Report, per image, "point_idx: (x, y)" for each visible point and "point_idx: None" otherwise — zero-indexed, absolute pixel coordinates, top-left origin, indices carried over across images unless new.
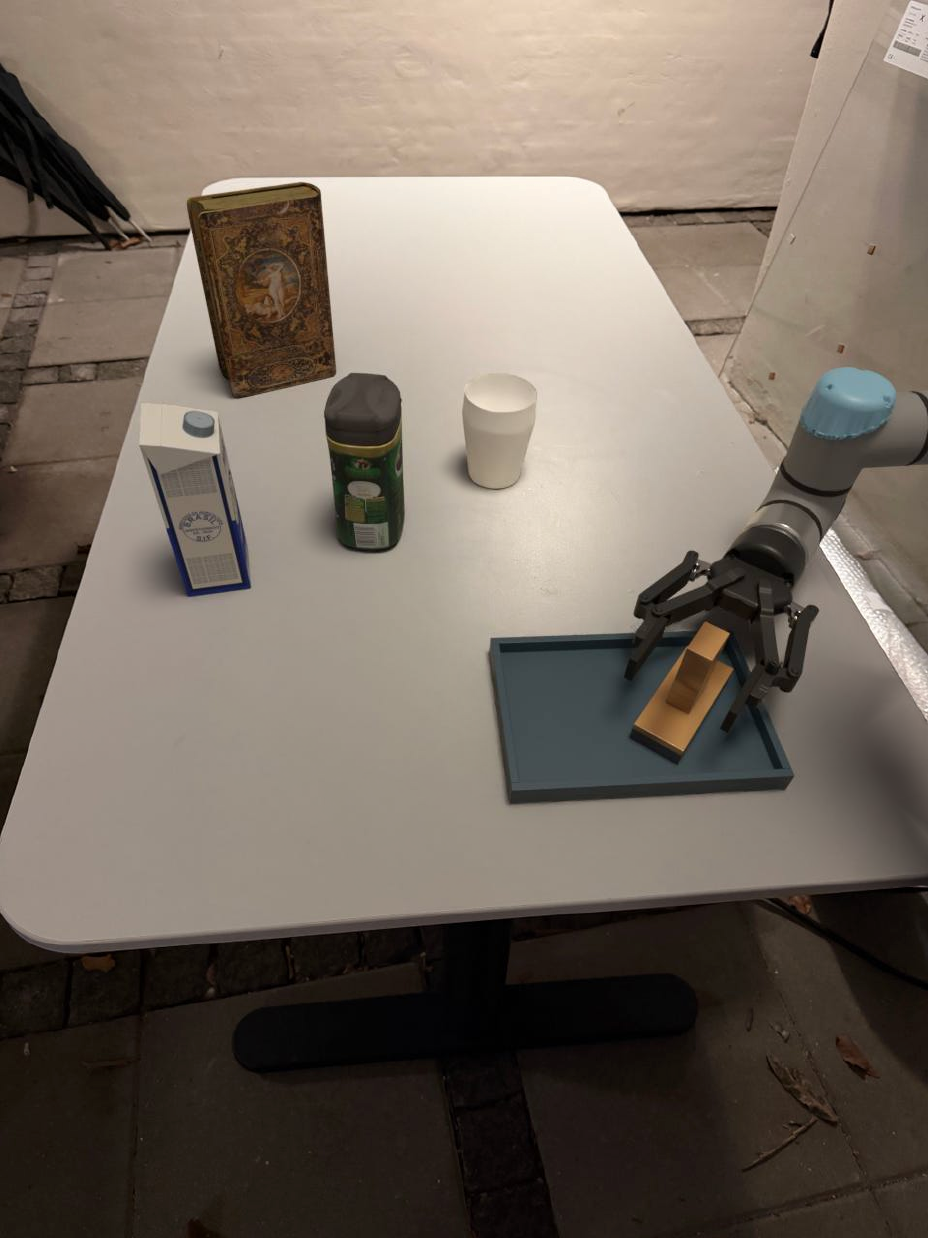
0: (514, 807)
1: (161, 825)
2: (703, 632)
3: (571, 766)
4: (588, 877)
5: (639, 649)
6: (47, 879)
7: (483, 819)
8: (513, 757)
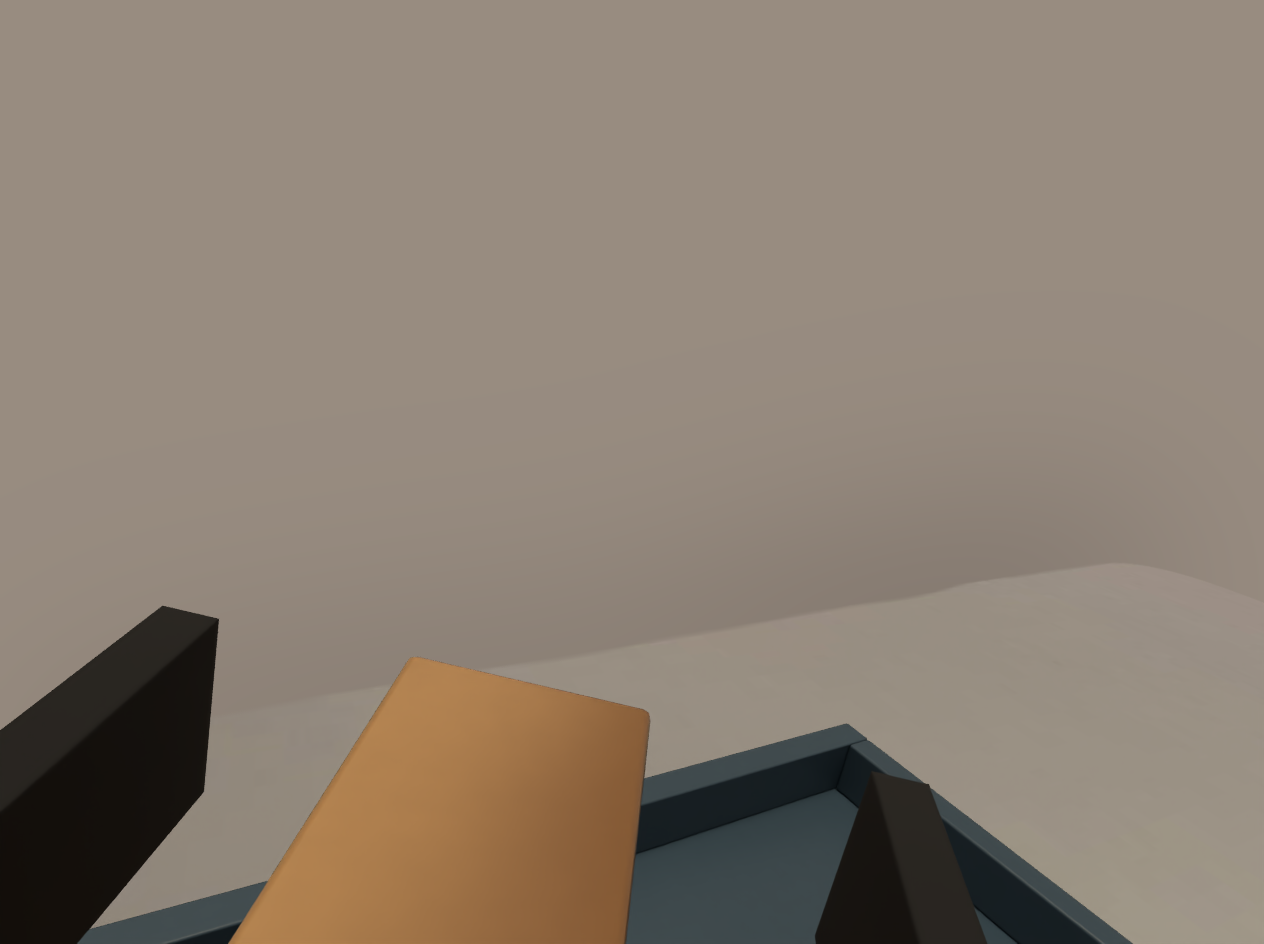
0: None
1: (1231, 651)
2: (568, 896)
3: (754, 899)
4: None
5: (937, 856)
6: (1212, 595)
7: None
8: None
